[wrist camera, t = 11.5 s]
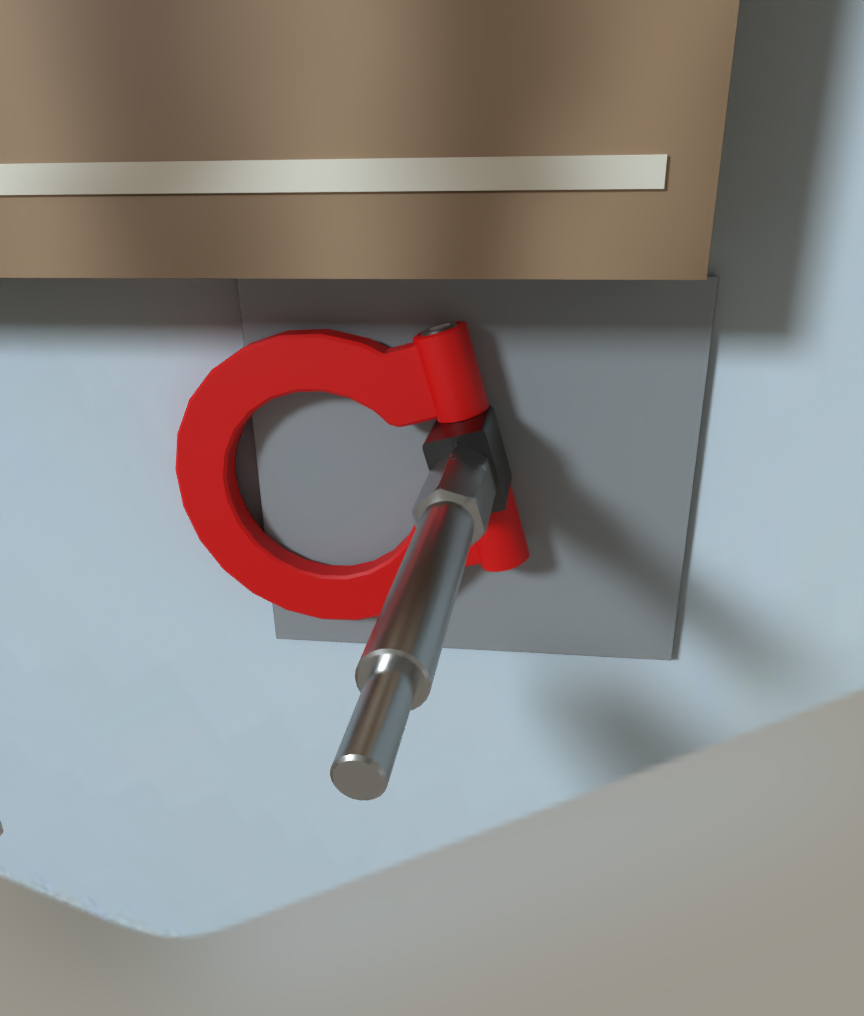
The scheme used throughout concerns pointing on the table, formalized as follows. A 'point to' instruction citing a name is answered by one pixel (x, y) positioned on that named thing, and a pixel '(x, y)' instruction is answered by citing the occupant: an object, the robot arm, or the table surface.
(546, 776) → the table surface
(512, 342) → the mat
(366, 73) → the walnut board
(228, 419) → the tow hook
